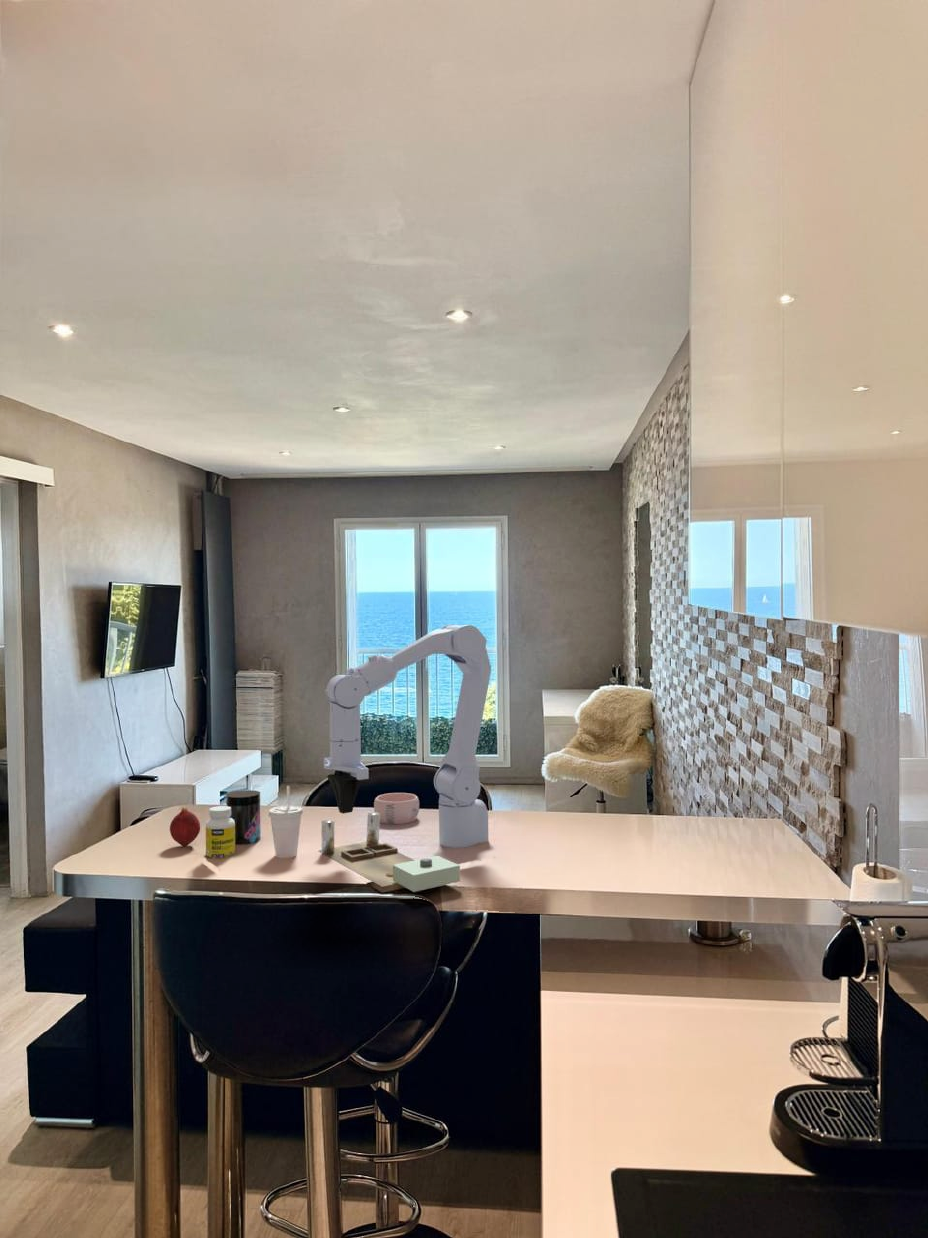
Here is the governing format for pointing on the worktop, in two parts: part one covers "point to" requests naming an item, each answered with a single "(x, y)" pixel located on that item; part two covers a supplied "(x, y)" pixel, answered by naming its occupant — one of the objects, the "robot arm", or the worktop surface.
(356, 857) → the board
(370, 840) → the pin
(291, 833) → the smoothie
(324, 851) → the pin
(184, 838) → the onion
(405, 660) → the robot arm
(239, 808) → the supplement container
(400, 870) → the cover
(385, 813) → the pink bowl
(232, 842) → the supplement bottle
